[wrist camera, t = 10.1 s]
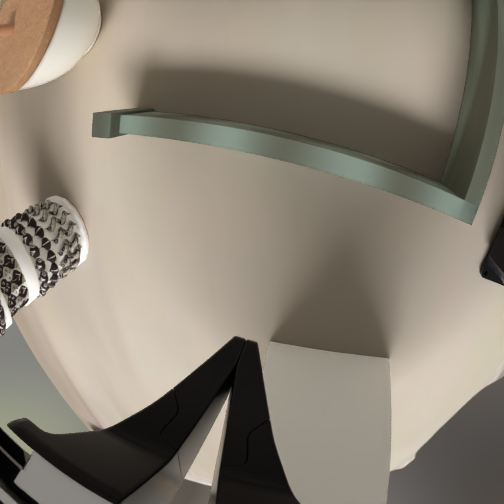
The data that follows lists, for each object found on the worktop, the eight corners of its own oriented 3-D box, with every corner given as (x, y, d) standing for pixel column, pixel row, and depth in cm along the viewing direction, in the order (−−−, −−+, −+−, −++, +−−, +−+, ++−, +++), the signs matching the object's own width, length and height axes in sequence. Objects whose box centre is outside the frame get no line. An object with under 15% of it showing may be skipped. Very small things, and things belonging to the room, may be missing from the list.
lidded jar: (56, 0, 14) (-14, -4, 6) (134, -28, 12) (56, -58, 4) (40, 90, 19) (-34, 105, 11) (111, 80, 18) (17, 87, 10)
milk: (260, 402, 32) (196, 590, 9) (269, 341, 26) (176, 612, 4) (353, 415, 30) (325, 605, 7) (388, 358, 24) (375, 623, 2)
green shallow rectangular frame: (484, -4, 7) (515, -21, 3) (447, 206, 17) (476, 235, 12) (178, -65, 10) (148, -89, 6) (134, 127, 19) (91, 136, 15)
